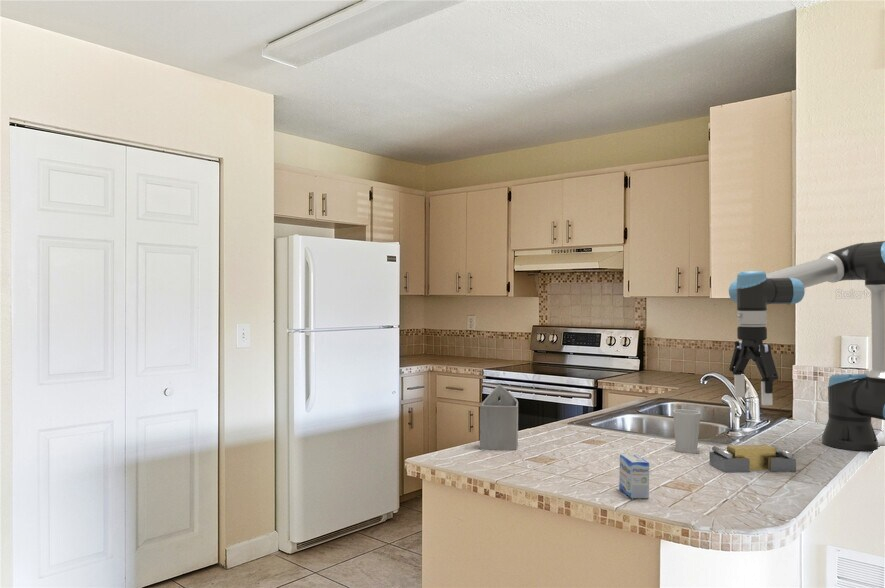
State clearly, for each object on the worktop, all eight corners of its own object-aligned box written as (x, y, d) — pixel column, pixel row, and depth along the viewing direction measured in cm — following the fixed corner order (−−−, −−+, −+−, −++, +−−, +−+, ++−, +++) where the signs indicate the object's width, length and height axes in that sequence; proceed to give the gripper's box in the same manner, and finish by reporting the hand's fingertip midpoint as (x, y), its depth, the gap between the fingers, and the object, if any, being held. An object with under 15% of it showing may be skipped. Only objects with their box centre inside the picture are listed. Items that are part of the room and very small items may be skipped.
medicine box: (618, 489, 155) (619, 453, 155) (636, 488, 155) (636, 453, 155) (631, 499, 147) (631, 462, 147) (649, 499, 147) (649, 462, 147)
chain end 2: (777, 463, 180) (777, 445, 180) (795, 471, 172) (796, 452, 172) (753, 463, 180) (753, 445, 180) (771, 471, 171) (771, 453, 171)
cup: (702, 454, 190) (703, 414, 190) (674, 452, 192) (675, 413, 192) (697, 448, 198) (697, 410, 198) (670, 446, 200) (671, 408, 200)
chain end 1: (733, 463, 180) (733, 445, 180) (749, 472, 171) (749, 453, 171) (709, 463, 179) (709, 445, 179) (724, 472, 171) (724, 453, 171)
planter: (496, 454, 189) (497, 389, 189) (479, 449, 195) (479, 386, 195) (534, 446, 199) (534, 385, 199) (516, 442, 205) (516, 382, 205)
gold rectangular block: (766, 465, 178) (766, 444, 178) (775, 469, 174) (775, 448, 174) (726, 467, 177) (726, 445, 177) (735, 470, 173) (735, 449, 173)
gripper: (716, 323, 191) (717, 394, 191) (765, 328, 166) (766, 409, 166) (740, 323, 191) (741, 393, 191) (792, 327, 166) (793, 408, 166)
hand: (752, 401), depth 178 cm, fingers open, 13 cm apart
